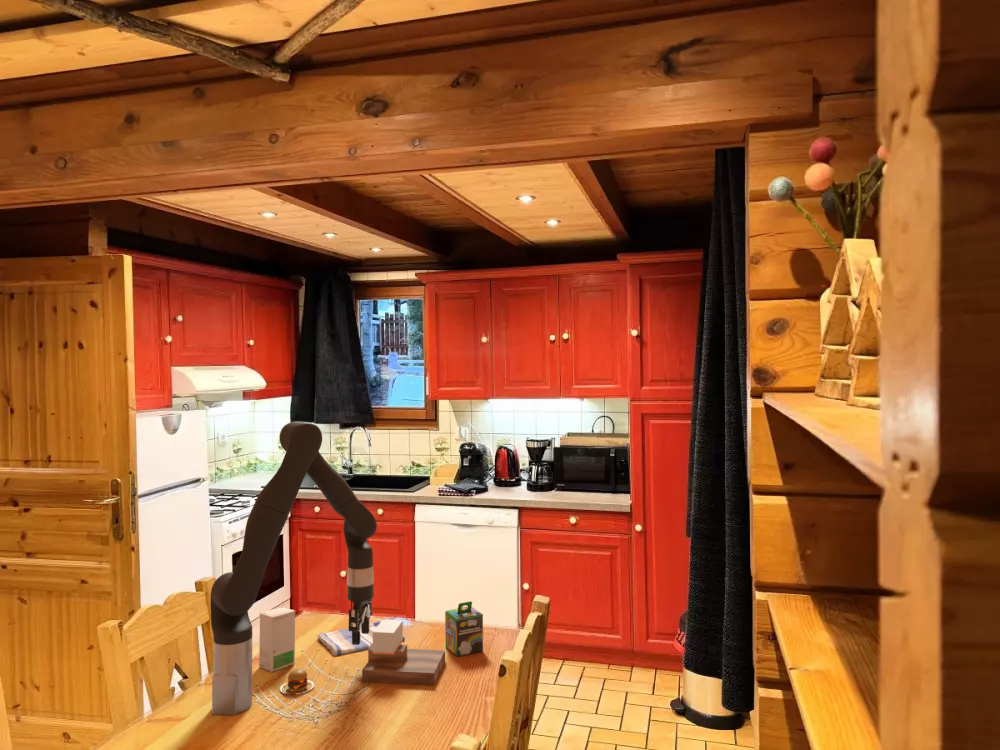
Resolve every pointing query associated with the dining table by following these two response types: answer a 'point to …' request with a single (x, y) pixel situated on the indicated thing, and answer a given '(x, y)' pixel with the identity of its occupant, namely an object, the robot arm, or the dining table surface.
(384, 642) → the brick
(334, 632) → the dish towel
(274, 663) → the skincare box
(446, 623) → the chalk box
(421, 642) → the dining table surface
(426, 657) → the step stand
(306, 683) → the hamburger
